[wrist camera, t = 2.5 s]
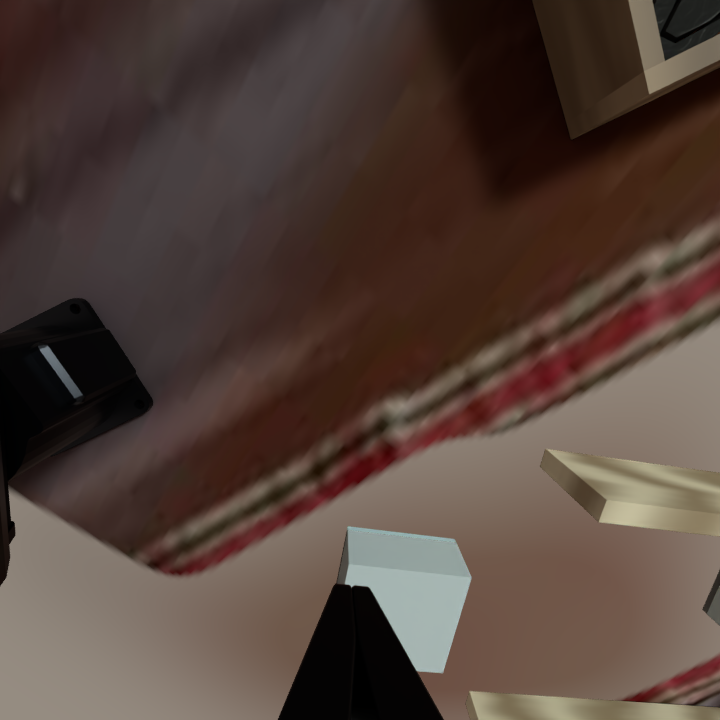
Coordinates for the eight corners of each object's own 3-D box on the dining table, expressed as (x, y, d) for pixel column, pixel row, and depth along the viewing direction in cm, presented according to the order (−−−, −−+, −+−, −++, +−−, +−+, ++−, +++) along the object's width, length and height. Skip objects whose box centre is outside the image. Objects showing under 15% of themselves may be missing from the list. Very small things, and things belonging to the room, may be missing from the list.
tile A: (329, 616, 24) (328, 663, 21) (347, 526, 22) (348, 564, 19) (430, 625, 24) (442, 673, 21) (454, 539, 23) (471, 577, 20)
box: (465, 703, 26) (495, 803, 21) (545, 448, 21) (606, 499, 16) (755, 721, 28) (842, 815, 23) (881, 495, 24) (1023, 552, 19)
